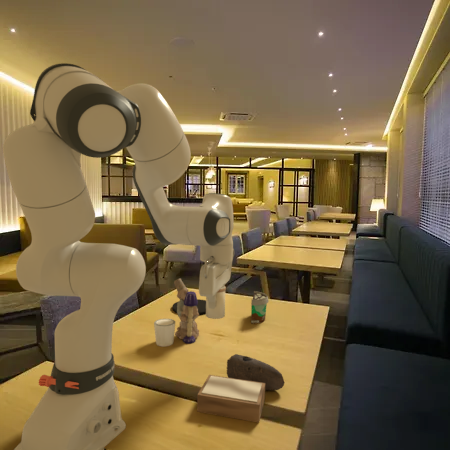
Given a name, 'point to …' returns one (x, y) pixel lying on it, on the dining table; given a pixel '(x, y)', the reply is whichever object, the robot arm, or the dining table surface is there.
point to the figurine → (184, 312)
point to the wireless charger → (200, 306)
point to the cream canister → (217, 305)
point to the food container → (258, 307)
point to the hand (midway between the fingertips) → (215, 304)
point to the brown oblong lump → (254, 371)
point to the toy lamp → (190, 315)
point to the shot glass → (164, 332)
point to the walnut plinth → (232, 398)
